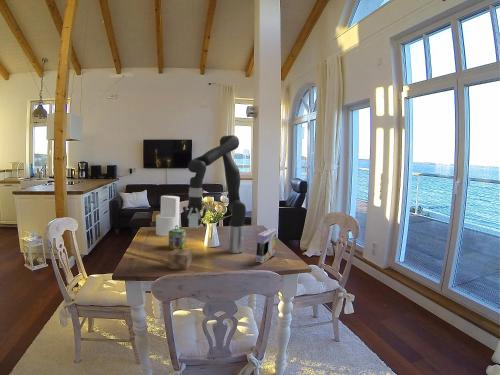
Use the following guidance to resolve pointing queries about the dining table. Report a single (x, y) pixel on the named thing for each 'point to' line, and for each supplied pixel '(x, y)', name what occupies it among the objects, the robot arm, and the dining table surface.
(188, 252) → the walnut box
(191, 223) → the block
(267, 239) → the cake pan box
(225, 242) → the dining table surface
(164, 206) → the white stepped tower
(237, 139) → the robot arm
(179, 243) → the green tin canister
